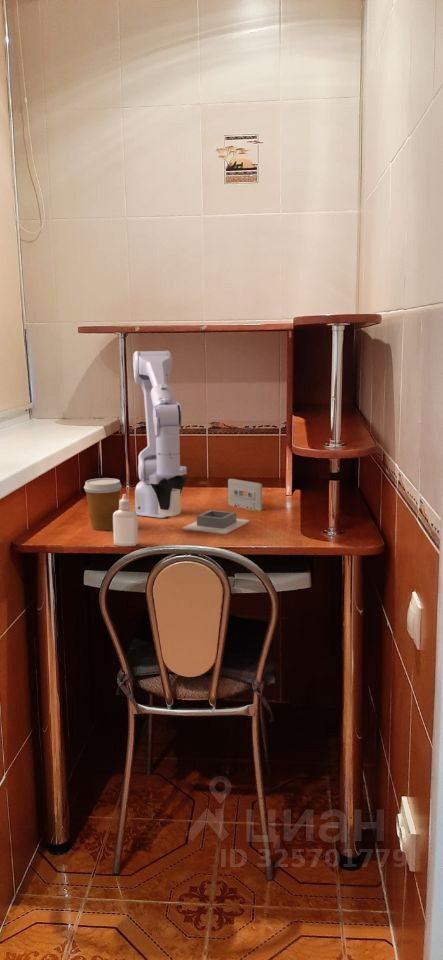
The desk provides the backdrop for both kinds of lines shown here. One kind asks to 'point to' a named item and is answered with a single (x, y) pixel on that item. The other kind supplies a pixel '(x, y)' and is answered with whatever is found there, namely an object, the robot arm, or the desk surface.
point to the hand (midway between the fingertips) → (169, 507)
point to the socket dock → (216, 522)
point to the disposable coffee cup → (102, 501)
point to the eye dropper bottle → (125, 524)
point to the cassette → (245, 501)
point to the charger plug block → (172, 504)
